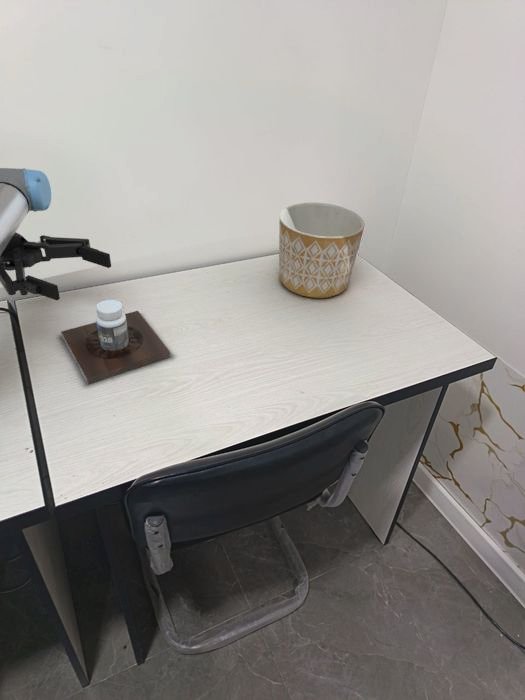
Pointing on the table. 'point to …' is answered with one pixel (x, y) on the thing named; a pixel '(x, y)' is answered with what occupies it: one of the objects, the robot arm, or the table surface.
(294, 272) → the planter
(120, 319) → the pill bottle
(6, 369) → the table surface
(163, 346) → the socket plate
